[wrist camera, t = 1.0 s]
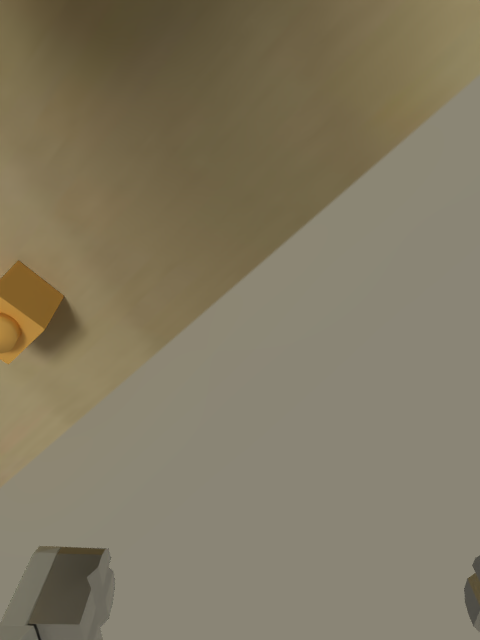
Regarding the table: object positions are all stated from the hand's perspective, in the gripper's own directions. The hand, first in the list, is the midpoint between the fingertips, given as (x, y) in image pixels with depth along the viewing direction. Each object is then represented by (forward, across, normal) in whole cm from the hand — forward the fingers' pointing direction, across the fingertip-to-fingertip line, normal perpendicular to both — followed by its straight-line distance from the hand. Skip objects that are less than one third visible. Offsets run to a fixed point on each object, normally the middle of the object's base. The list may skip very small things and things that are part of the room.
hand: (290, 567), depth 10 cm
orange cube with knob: (+32, +22, +7) cm, 39 cm away
